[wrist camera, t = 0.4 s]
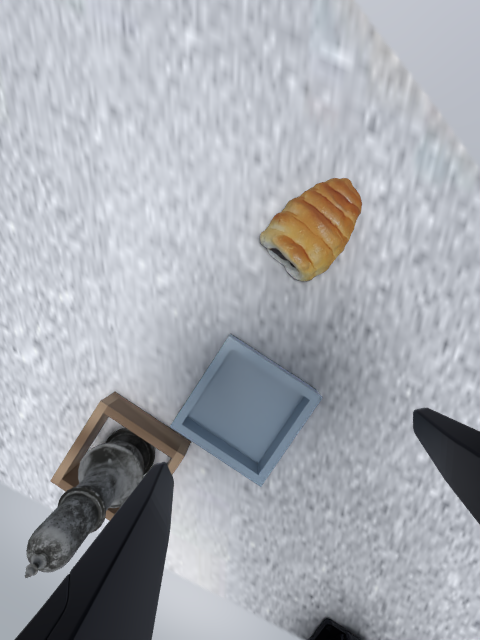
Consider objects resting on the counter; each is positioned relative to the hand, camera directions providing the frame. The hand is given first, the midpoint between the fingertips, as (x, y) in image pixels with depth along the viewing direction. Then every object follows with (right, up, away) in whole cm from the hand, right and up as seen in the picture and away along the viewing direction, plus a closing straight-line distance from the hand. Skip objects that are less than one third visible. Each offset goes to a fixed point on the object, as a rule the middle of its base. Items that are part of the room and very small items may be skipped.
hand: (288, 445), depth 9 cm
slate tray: (-1, -4, +16) cm, 17 cm away
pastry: (+5, +13, +16) cm, 21 cm away
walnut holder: (-13, -9, +17) cm, 23 cm away
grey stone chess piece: (-13, -9, +17) cm, 23 cm away
